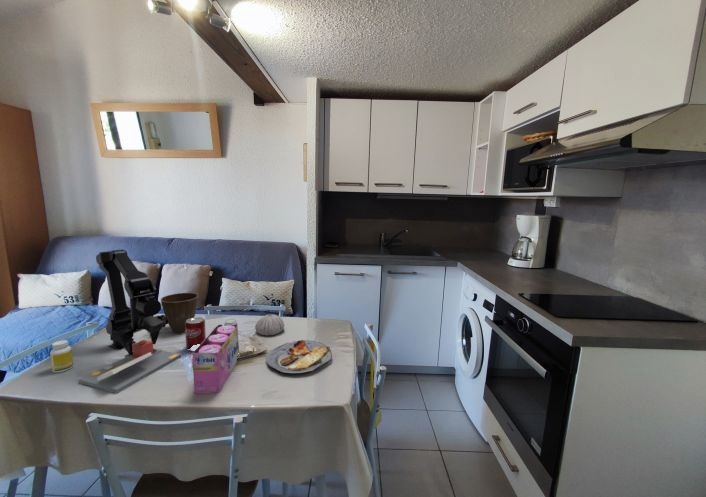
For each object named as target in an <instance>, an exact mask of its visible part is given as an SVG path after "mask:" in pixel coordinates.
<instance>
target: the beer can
mask: <svg viewBox="0 0 706 497" xmlns="http://www.w3.org/2000/svg"><path fill="white" fill-rule="evenodd" d="M235 324H236V325H238V322H237V320H236V319H233V318H231V319H227V320H225V323H224V325H223V326H234V325H235Z"/></svg>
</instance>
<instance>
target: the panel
mask: <svg viewBox="0 0 706 497" xmlns="http://www.w3.org/2000/svg"><path fill="white" fill-rule="evenodd" d="M160 350H161V353H159V354H157V355H155V356H153V357H152V358H150V359H148V360H146V361H144V362H142V363H141V362H137V363H135V364H133V365H131V366H129V367H127V368H125V369H123V370H121V371H119V372H117V373H115V374H113V375H111V376H108V377H106V378H104V379H101V380H99V381H98V379H97V377H99V376H101V375H102V374H104V373H106V372H108V371H110V370H112V369H114V368H116V367H118V366H120V365H123V364H125V363H127V362H129V361H131V360H127V359H125V357H124V358H121V359H120V360H117V361H115V362H113V363H111V364H108V365H106V366H103V367H102V368H100V369H97V370H95V371H93V372H91V373H90V374H88V375H85V376H83V377H80V378H78V380H77V381H78V383H79V384H82V385H85V386H90V387H93V388H97V389H101V390H105V391H107V392H111V393H116V394H118V393H120V392H122V391H123V390H126V389H127V388H129V387H131V386H132V385H135V384H136V383H138V382H140V381H141V380H143V379H146V378H147V377H148V376H151V375H153V374H154V373H156V372H157V371H160V370H161V369H163V368H165V367H167V366H169V365H170V364H172V363H173V362H175V361H178V360H180V359H181V358H182V354H181V353H177V352H171V351H166V350H162V349H160Z"/></svg>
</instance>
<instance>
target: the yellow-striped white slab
mask: <svg viewBox="0 0 706 497" xmlns="http://www.w3.org/2000/svg"><path fill="white" fill-rule="evenodd" d="M151 355H152V354H151V352H149V353H147V354H145V355H143V356H140V357H138V358H135V359H133V360H131V361H129V362H127V363H125V364H123V365H120V366H118V367H116V368H114V369H112V370H110V371H108V372H106V373H104V374H102V375H101V376H99V377H97V379H98V381H99V380H101V379H104V378H106V377H108V376H111V375H113V374H115V373H117V372H119V371H121V370H123V369H125V368H127V367H129V366H131V365H133V364H135V363H137V362H139V361H141V360H143V359H145V358H147V357H149V356H151Z"/></svg>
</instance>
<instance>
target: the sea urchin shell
mask: <svg viewBox="0 0 706 497" xmlns="http://www.w3.org/2000/svg"><path fill="white" fill-rule="evenodd" d="M254 327H255V331H256V332H257V333H258V334H260V335H262V336H273V335H277V334H279V333H282V331H283V330H284V328H285V323H284V321H283V319H282V318H281V317H280V316H278V315H277V314H265V315H264V316H262V317H261V318H260V319H258V320H257V322H256V323H255V326H254Z"/></svg>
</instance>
